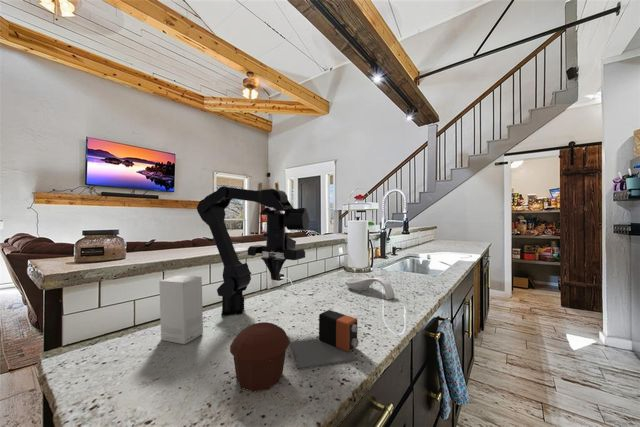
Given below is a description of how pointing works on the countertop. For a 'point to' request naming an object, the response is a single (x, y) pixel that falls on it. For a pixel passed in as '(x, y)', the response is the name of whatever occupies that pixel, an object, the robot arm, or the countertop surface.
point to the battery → (338, 330)
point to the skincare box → (181, 308)
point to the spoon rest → (364, 283)
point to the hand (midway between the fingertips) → (275, 279)
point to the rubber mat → (319, 354)
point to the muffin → (259, 355)
